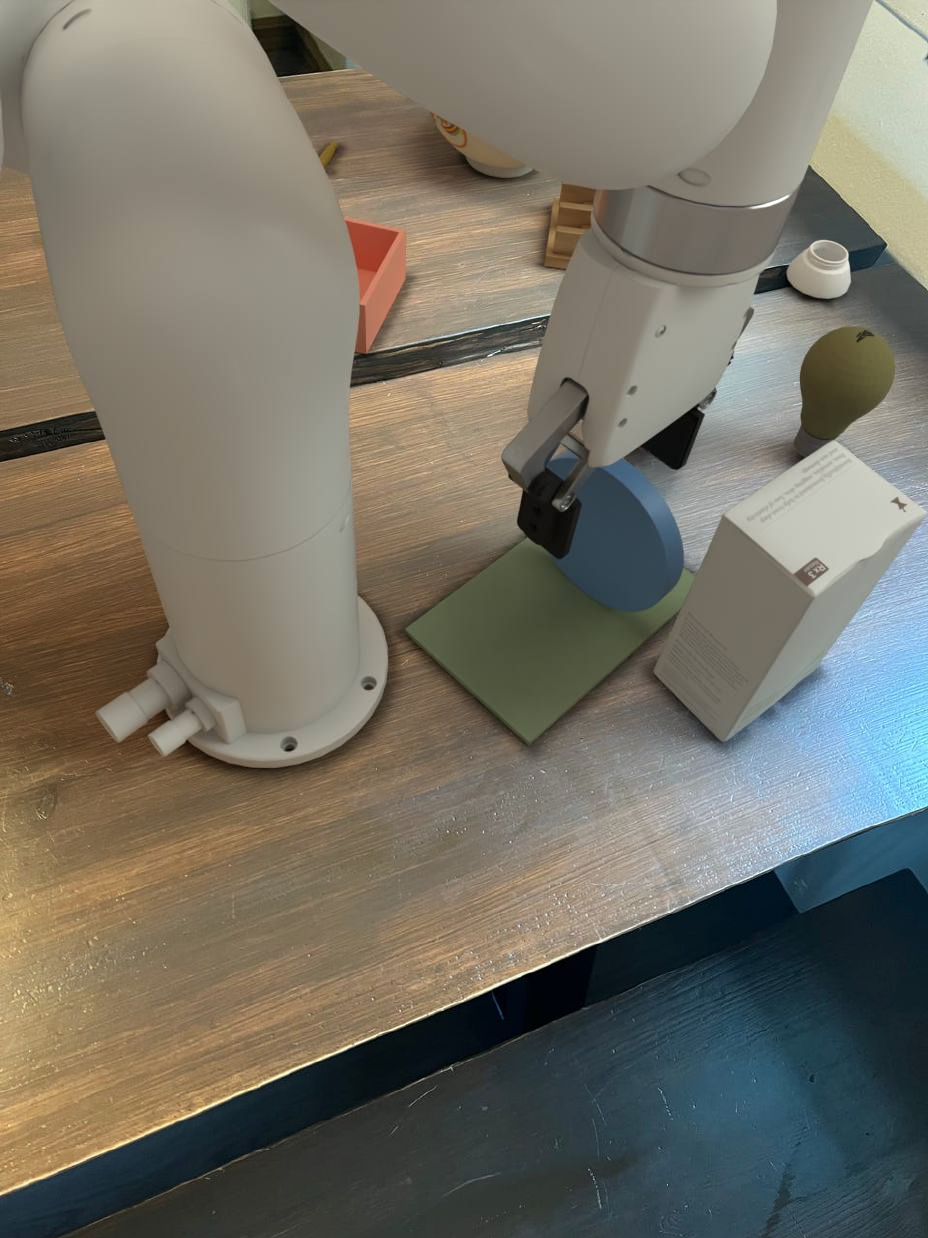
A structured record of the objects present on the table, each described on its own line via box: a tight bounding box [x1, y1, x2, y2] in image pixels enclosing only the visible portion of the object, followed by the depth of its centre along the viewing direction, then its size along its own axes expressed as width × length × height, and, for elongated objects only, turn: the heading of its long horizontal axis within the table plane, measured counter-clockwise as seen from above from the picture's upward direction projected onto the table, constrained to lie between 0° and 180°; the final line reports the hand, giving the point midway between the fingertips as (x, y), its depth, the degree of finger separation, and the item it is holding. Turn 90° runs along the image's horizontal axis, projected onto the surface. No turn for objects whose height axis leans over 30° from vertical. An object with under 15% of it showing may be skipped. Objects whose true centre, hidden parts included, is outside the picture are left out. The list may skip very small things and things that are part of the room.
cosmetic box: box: [652, 440, 928, 743], centre depth 49 cm, size 8×6×15 cm
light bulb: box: [793, 326, 896, 459], centre depth 63 cm, size 6×6×10 cm
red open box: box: [344, 216, 407, 355], centre depth 69 cm, size 18×10×10 cm, turn 75°
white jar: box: [786, 239, 852, 300], centre depth 77 cm, size 5×3×5 cm
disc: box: [546, 448, 685, 612], centre depth 54 cm, size 1×10×10 cm, turn 44°
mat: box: [404, 536, 696, 746], centre depth 57 cm, size 16×10×1 cm, turn 135°
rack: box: [543, 181, 596, 270], centre depth 78 cm, size 8×11×3 cm
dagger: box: [318, 140, 339, 174], centre depth 82 cm, size 11×1×2 cm
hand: (602, 495), depth 52 cm, fingers open, 9 cm apart
